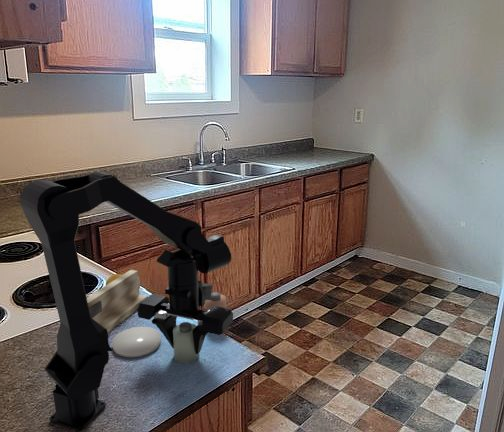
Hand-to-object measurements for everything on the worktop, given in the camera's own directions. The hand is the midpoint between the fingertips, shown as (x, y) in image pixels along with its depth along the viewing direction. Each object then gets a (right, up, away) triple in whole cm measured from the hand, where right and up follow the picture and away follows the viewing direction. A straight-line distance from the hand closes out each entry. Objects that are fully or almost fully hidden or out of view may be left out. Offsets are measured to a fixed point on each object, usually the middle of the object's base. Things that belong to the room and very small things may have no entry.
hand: (186, 350), depth 88 cm
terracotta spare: (+5, +3, +13) cm, 14 cm away
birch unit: (-19, +3, +13) cm, 24 cm away
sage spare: (0, -1, 0) cm, 1 cm away
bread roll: (-22, +8, +30) cm, 38 cm away
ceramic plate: (-11, 0, +4) cm, 12 cm away
